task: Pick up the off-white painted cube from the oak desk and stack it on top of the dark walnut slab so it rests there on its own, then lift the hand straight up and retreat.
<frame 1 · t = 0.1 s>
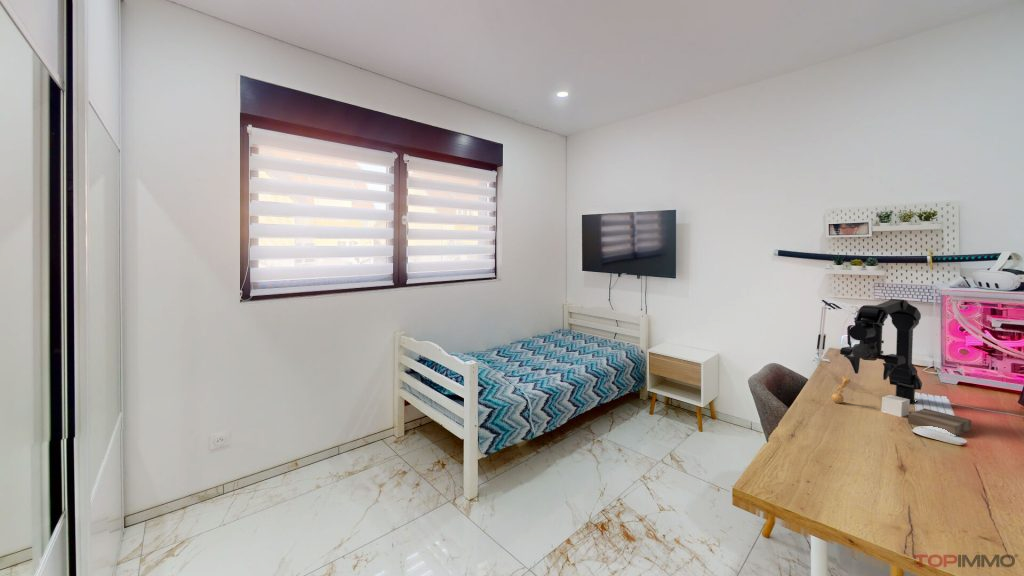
hand: (870, 376, 154), 14 cm above the table, fingers open, 9 cm apart
walnut slab: (938, 427, 141), on the table
figurine: (840, 403, 165), on the table
off-white cube: (895, 413, 154), on the table
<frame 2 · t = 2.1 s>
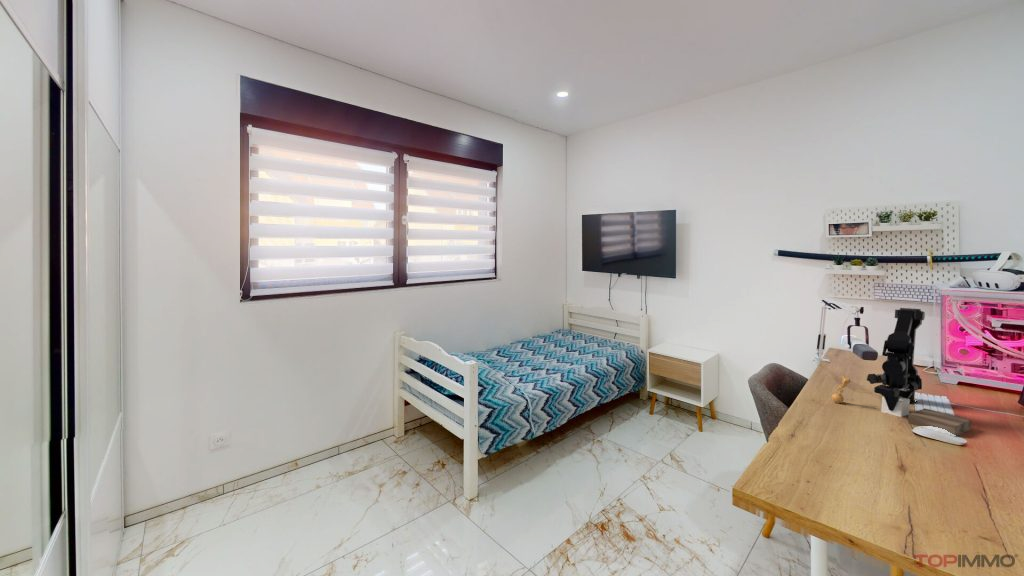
hand: (895, 409, 154), 2 cm above the table, fingers closed on off-white cube, 6 cm apart
off-white cube: (895, 412, 154), on the table, touching gripper
everything else where it was.
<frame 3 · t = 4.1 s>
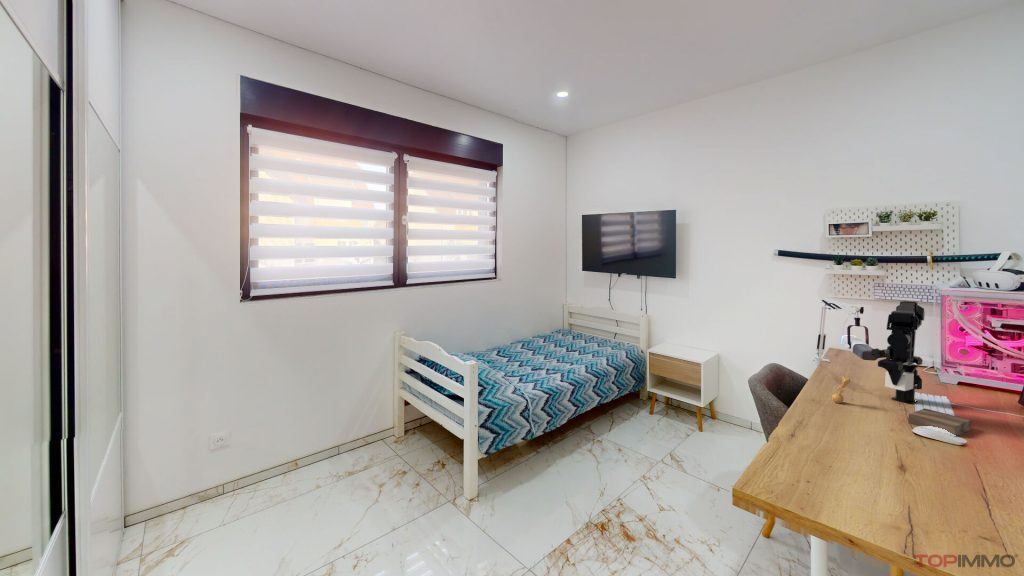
hand: (899, 383, 152), 12 cm above the table, fingers closed on off-white cube, 6 cm apart
off-white cube: (898, 387, 152), point 10 cm above the table, touching gripper
everything else where it was.
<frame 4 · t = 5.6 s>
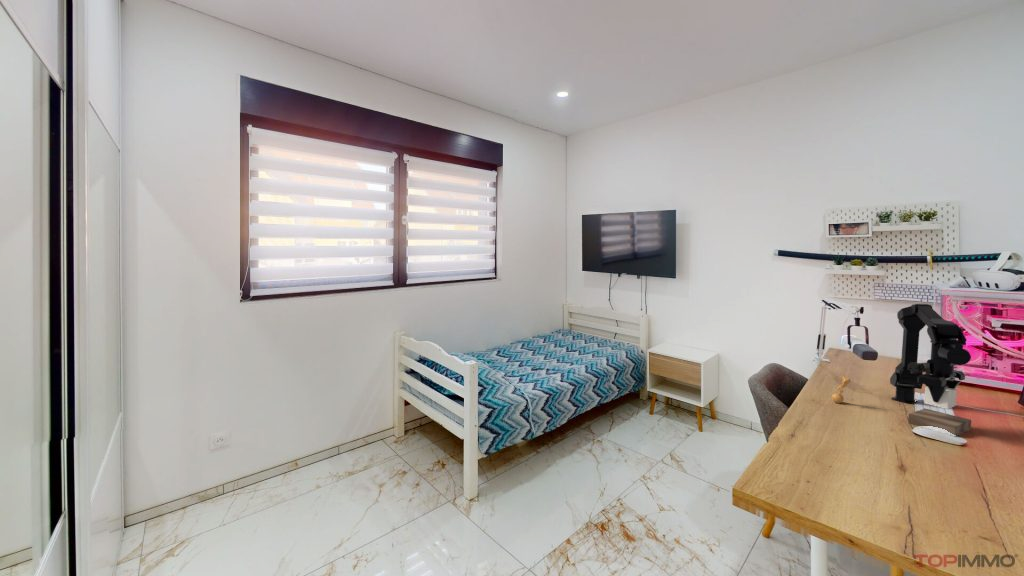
hand: (940, 400, 141), 10 cm above the table, fingers closed on off-white cube, 6 cm apart
off-white cube: (939, 404, 141), point 8 cm above the table, touching gripper
everything else where it was.
when the fingers open (7 cm above the table, at t = 6.5 s): off-white cube drops 2 cm, point 4 cm above the table.
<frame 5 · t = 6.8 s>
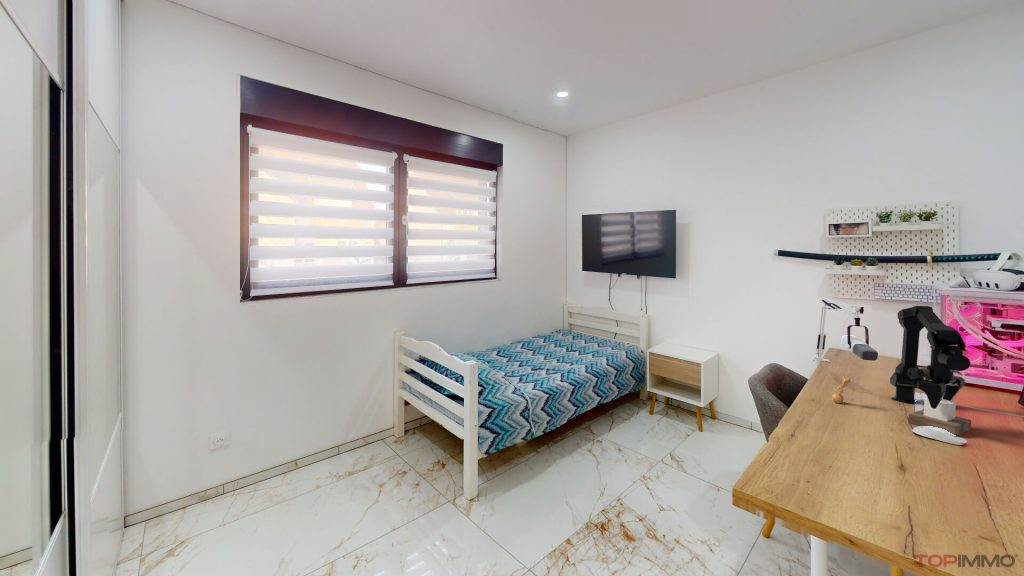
hand: (939, 406, 141), 7 cm above the table, fingers open, 9 cm apart
off-white cube: (939, 416, 141), point 4 cm above the table
everything else where it was.
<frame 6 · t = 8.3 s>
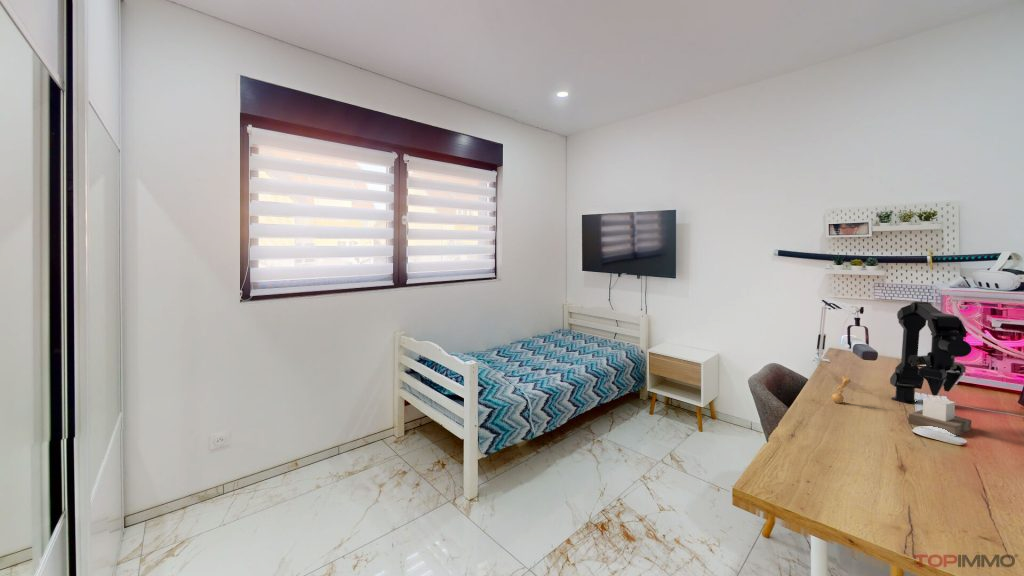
hand: (940, 393, 140), 12 cm above the table, fingers open, 9 cm apart
walnut slab: (938, 427, 141), on the table, touching off-white cube
off-white cube: (938, 416, 141), point 3 cm above the table, touching walnut slab
everything else where it was.
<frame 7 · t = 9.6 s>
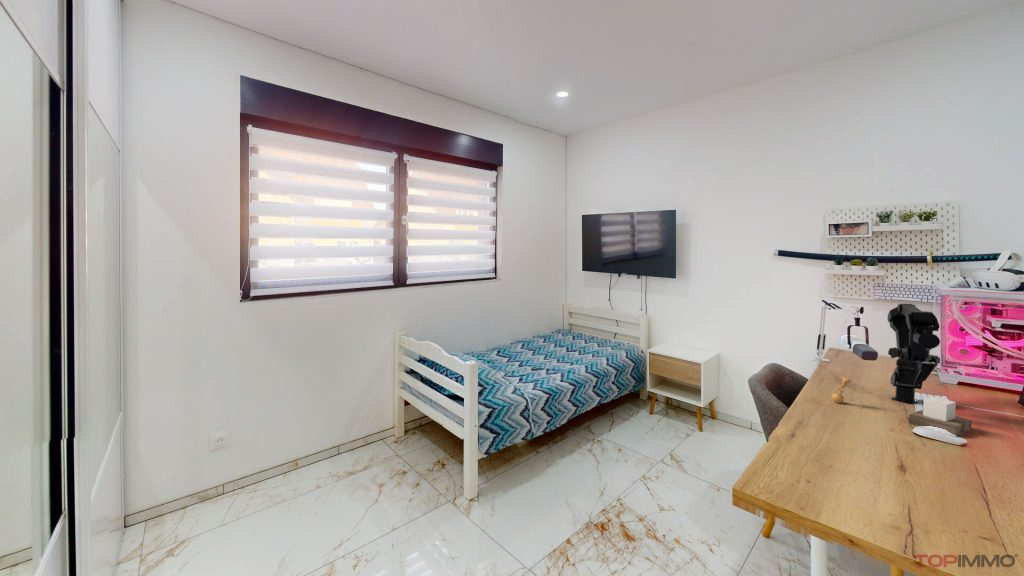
hand: (917, 382, 153), 12 cm above the table, fingers open, 9 cm apart
walnut slab: (939, 427, 141), on the table
off-white cube: (938, 416, 141), point 3 cm above the table
everything else where it was.
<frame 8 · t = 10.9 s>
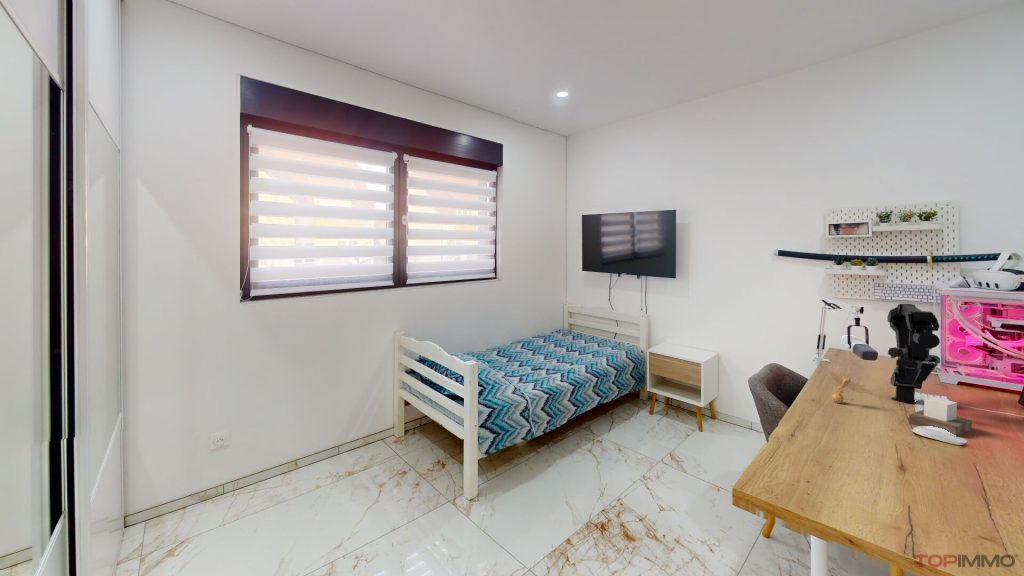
hand: (917, 382, 153), 12 cm above the table, fingers open, 9 cm apart
nothing on the table moved.
at the end: off-white cube inside the target area on the walnut slab (0.1 cm from its centre), point 4.1 cm above the walnut slab's base; off-white cube tilted 0°; the gripper is holding nothing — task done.
